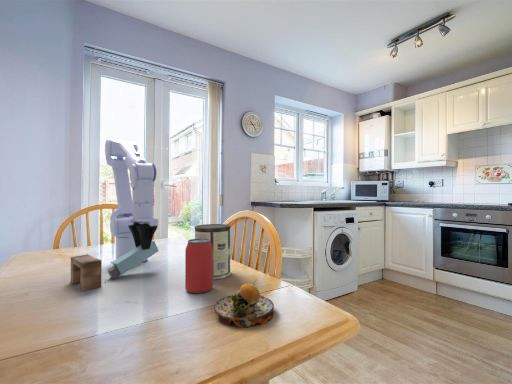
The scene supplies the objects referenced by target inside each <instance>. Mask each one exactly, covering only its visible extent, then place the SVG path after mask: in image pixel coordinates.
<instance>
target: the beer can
mask: <svg viewBox="0 0 512 384" xmlns="http://www.w3.org/2000/svg"><path fill="white" fill-rule="evenodd" d="M184 252H185V253H184V254H185V258H184V260H185V275H184V276H185V277H184V278H185V279H184V282H185V287H184V289H185V290H186V291H187V292H188V293H190V294H205V293H207V292H209V291H211V290H212V289H213V286H214V280H213V247H212V244H211V240H210V239H204V238H199V239H195V238H192V239H188V240H187V244H186V247H185V251H184Z"/></svg>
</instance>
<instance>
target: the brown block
mask: <svg viewBox="0 0 512 384" xmlns="http://www.w3.org/2000/svg"><path fill="white" fill-rule="evenodd" d="M102 263H103V262H102V259H99V258H97V257H94V256H92V255H90V254H82V255H75V256H70V283H71V282H72V284H73V283H74V284H78V283H77V282H79V283H80V289H79V290H81V291H82V292H86V291H89V290H94V289H97V288H102V269H103V268H102V267H103V266H102Z"/></svg>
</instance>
